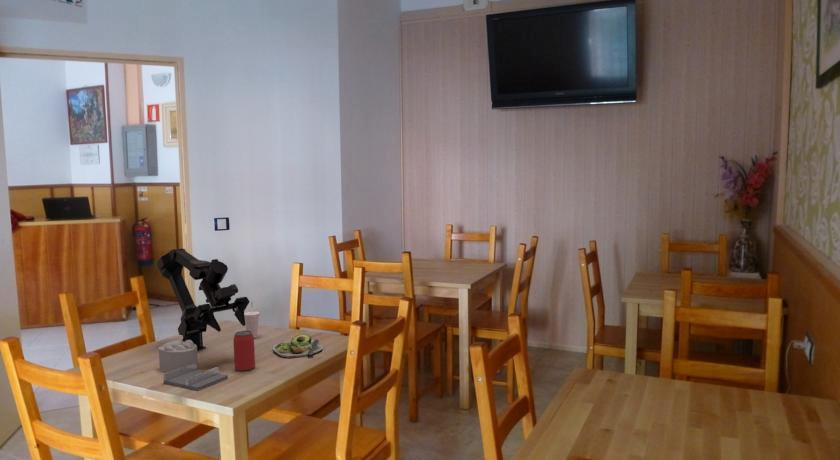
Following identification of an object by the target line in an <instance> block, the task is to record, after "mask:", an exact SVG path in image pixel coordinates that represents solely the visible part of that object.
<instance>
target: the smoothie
mask: <svg viewBox="0 0 840 460" xmlns="http://www.w3.org/2000/svg"><path fill="white" fill-rule="evenodd" d="M250 305H251V308H250V309H251V311H246V312H244V317H245V326H244V327H245V331H251V332H252V335H253V337H254V339H257V338H258V334H259V333H258V332H259V321H260V320H259V319H260V315H261V314H260V312H259V311H254V306H253V305H254V303H253V301H251V304H250Z"/></svg>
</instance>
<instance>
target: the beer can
mask: <svg viewBox="0 0 840 460" xmlns="http://www.w3.org/2000/svg"><path fill="white" fill-rule="evenodd" d="M232 341H233V359H234V369H235V370H237V371H240V372H242V371H243V372H246V371H251V370H253V369H255V367H256V356H255V355H256V354H255V351H256V350H255V338H254V337H253V335H252V332H251V331H246V330H241V331H236V332H235V333H234V336H233V340H232Z"/></svg>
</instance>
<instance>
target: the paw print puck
mask: <svg viewBox="0 0 840 460" xmlns="http://www.w3.org/2000/svg"><path fill="white" fill-rule="evenodd" d="M198 357H199V355H198V351H197V345H196V344H193V342H192V341H191V340H186V341H185V342H182V340H181V339H180V340H179V339H178V340H173V341H168V342H166V343H164V344H163V345H161V346H159V347H158V358H159V359H158V360H159V363H158V364H159V370H160V371H162V372H165V373H167V372H170V371H173V370H175V369H178V368H181V367H184V366H187V365H190V364H192V363H196V368H197V369H199V359H198Z"/></svg>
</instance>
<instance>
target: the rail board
mask: <svg viewBox="0 0 840 460" xmlns="http://www.w3.org/2000/svg"><path fill="white" fill-rule="evenodd" d="M219 371H220V370H219V367H217V366H216V367H213V368H209V369H208V370H202V369H199V368H196V363H192V364H190V365H187V366H184V367H181V368H178V369H175V370H173V371H170V372H165V373H163V374H162V377H163V378H162V379H163V384H165V385H170V386H174V387H179V388H184V389H189V390H192V391H197V392H199V391H200V390H202V389H205V388H206V389H207V388H208V387H211V386H213V385H215V384H218V383H221V382H222V381H223V382H224V381H225V380H228V379H229V375H227V374H222V373H219Z"/></svg>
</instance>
